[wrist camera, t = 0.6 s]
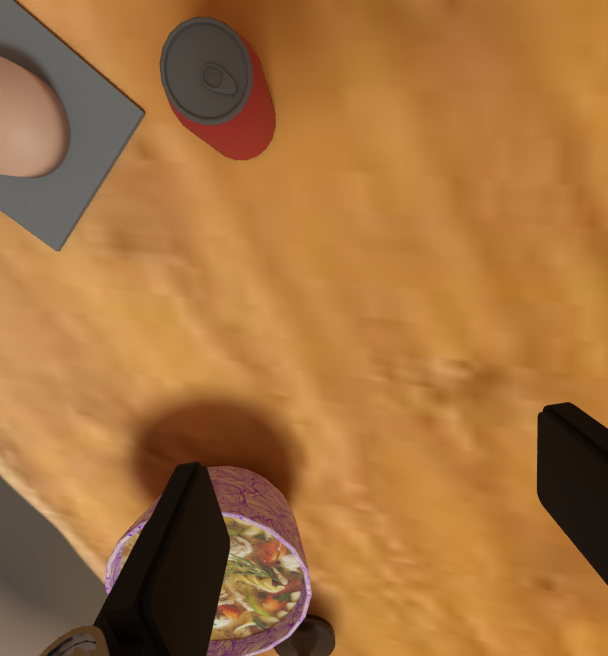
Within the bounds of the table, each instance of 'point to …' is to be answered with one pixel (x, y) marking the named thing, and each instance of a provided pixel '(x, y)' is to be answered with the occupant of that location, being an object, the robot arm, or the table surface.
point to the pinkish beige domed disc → (30, 124)
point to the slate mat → (85, 125)
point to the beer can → (218, 87)
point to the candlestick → (309, 639)
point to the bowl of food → (247, 565)
